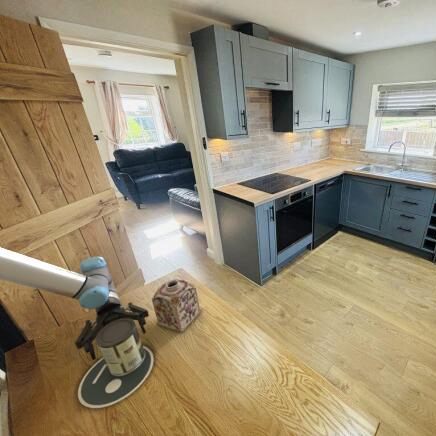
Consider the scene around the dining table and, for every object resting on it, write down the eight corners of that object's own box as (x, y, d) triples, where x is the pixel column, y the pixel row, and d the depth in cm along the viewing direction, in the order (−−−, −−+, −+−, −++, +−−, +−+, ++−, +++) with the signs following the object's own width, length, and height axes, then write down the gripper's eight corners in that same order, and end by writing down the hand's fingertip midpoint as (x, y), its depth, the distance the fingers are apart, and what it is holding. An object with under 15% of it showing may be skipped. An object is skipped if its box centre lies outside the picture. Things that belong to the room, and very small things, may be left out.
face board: (60, 412, 66) (59, 410, 66) (105, 347, 85) (104, 346, 84) (135, 406, 68) (134, 404, 68) (163, 344, 86) (163, 342, 86)
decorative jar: (181, 333, 91) (173, 297, 83) (157, 325, 94) (147, 289, 86) (201, 311, 101) (195, 277, 94) (179, 304, 104) (171, 271, 97)
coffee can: (125, 345, 85) (113, 316, 79) (152, 348, 84) (142, 319, 78) (101, 374, 75) (86, 343, 70) (131, 378, 74) (118, 347, 69)
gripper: (147, 298, 99) (164, 329, 85) (68, 332, 83) (72, 377, 69) (143, 283, 96) (159, 313, 82) (59, 316, 80) (63, 360, 66)
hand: (119, 343), depth 75 cm, fingers open, 13 cm apart
